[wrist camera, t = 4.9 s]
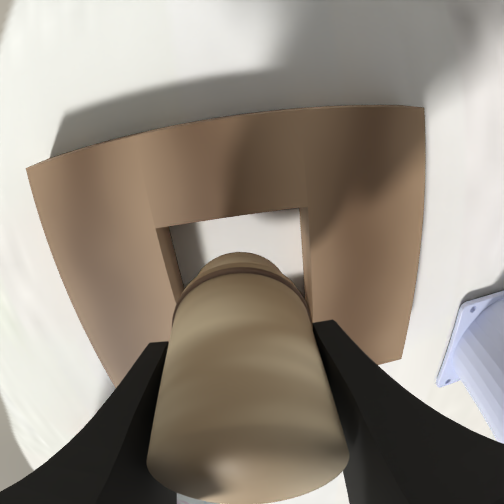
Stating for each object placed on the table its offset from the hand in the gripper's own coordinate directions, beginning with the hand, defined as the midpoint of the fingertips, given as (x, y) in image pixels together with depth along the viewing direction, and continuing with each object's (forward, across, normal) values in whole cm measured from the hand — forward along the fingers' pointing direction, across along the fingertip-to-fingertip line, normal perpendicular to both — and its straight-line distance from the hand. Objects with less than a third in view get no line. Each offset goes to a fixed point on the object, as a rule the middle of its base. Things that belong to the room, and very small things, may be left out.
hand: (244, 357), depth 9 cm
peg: (+3, 0, 0) cm, 3 cm away
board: (+6, 0, 0) cm, 6 cm away
